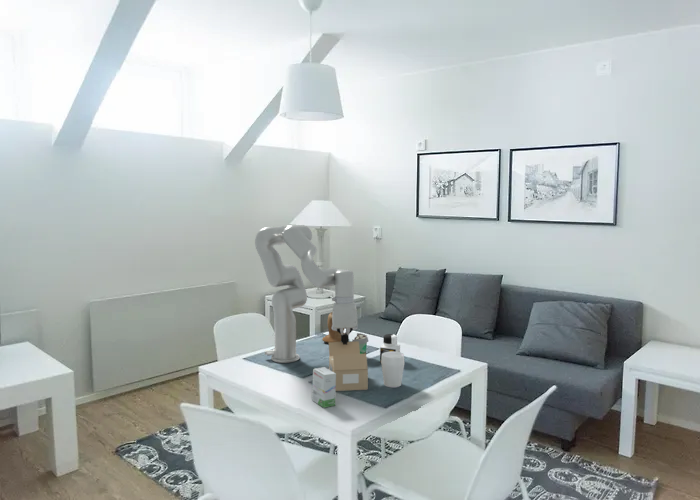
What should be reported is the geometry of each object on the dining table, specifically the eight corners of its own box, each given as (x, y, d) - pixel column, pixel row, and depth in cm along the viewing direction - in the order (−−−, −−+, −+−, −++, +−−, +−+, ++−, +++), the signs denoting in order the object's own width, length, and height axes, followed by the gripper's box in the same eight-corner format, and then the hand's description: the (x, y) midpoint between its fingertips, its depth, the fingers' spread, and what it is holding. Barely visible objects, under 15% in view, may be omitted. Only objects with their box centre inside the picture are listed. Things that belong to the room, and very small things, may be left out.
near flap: (334, 370, 201) (334, 370, 201) (333, 355, 204) (333, 354, 204) (367, 369, 203) (367, 368, 203) (366, 353, 206) (366, 353, 206)
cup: (397, 390, 203) (398, 359, 202) (376, 385, 208) (377, 355, 207) (408, 383, 211) (408, 353, 210) (387, 379, 216) (388, 350, 214)
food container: (365, 362, 236) (365, 340, 235) (351, 362, 238) (352, 339, 237) (370, 354, 248) (370, 333, 247) (357, 353, 250) (357, 332, 249)
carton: (333, 391, 202) (333, 370, 202) (328, 375, 220) (328, 355, 219) (367, 389, 204) (367, 368, 203) (360, 373, 222) (360, 354, 221)
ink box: (311, 400, 193) (311, 368, 192) (324, 397, 196) (324, 366, 195) (323, 408, 186) (323, 375, 185) (336, 405, 189) (336, 372, 188)
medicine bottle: (379, 362, 237) (380, 336, 236) (384, 358, 243) (385, 332, 242) (395, 364, 234) (395, 337, 233) (400, 360, 241) (400, 333, 239)
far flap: (328, 342, 223) (328, 342, 223) (329, 355, 220) (329, 356, 220) (358, 341, 225) (358, 341, 225) (360, 354, 221) (359, 355, 222)
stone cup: (340, 346, 262) (340, 316, 261) (319, 343, 267) (319, 313, 266) (353, 338, 276) (353, 310, 274) (333, 336, 281) (333, 307, 279)
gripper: (327, 302, 216) (327, 347, 218) (363, 301, 218) (364, 345, 219) (325, 298, 223) (326, 342, 225) (361, 297, 225) (361, 340, 227)
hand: (344, 343), depth 222 cm, fingers closed
